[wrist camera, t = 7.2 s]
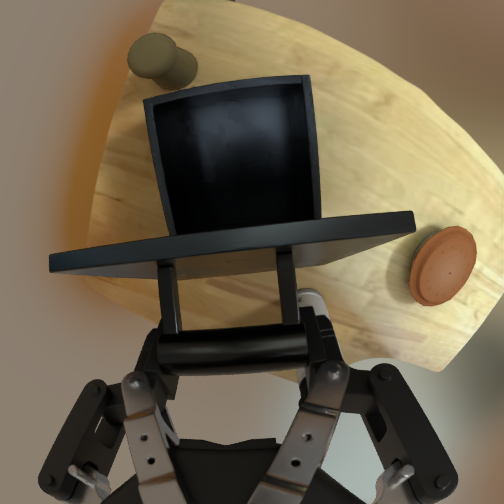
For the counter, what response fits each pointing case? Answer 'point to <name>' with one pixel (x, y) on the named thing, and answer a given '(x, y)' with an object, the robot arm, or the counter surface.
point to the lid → (234, 263)
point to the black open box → (236, 153)
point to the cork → (162, 61)
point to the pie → (442, 265)
